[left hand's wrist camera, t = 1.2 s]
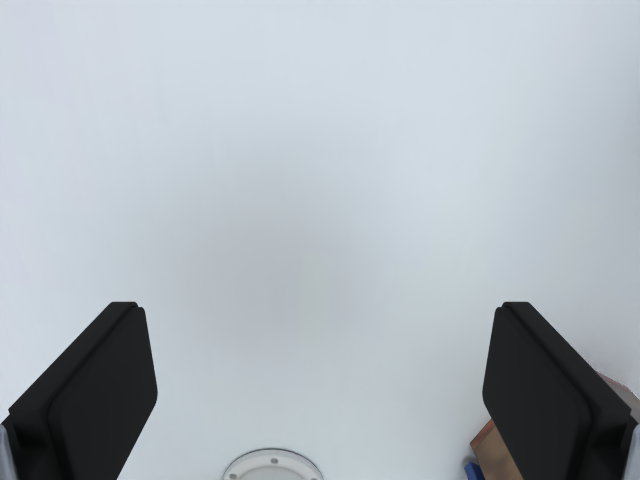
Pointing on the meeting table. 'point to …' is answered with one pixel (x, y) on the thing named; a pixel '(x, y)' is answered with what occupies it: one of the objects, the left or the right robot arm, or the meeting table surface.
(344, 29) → the meeting table surface
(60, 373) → the left robot arm
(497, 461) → the cabinet
